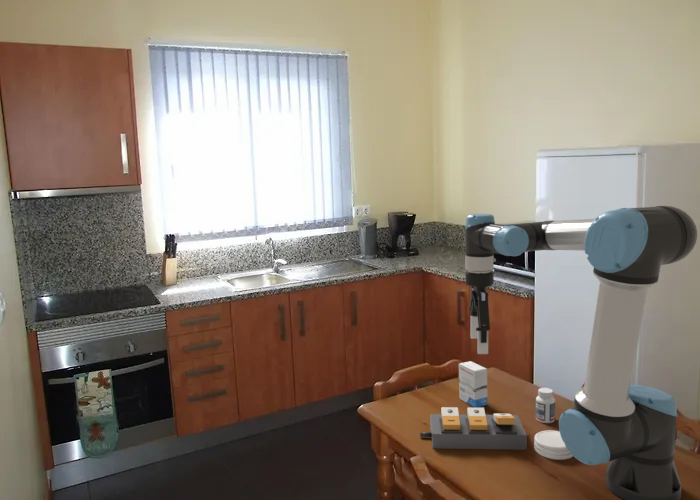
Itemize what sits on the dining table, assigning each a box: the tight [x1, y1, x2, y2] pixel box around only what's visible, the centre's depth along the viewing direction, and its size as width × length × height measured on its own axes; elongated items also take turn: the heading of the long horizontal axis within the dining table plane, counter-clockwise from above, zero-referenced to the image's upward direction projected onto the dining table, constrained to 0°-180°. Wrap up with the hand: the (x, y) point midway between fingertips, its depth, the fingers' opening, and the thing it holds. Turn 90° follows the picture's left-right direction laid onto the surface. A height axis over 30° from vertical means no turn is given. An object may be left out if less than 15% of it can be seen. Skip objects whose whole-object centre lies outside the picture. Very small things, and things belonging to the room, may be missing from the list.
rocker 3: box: [492, 413, 515, 425], centre depth 154 cm, size 7×4×2 cm, turn 175°
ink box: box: [458, 360, 488, 408], centre depth 179 cm, size 9×5×12 cm, turn 25°
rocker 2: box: [466, 407, 488, 430], centre depth 154 cm, size 7×4×2 cm, turn 175°
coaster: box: [533, 429, 574, 461], centre depth 149 cm, size 10×10×4 cm
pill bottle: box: [535, 387, 556, 424], centre depth 166 cm, size 5×5×9 cm
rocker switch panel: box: [419, 413, 528, 451], centre depth 156 cm, size 12×27×5 cm, turn 85°
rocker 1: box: [440, 406, 460, 430], centre depth 155 cm, size 7×4×2 cm, turn 175°
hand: (478, 345), depth 162 cm, fingers open, 13 cm apart
